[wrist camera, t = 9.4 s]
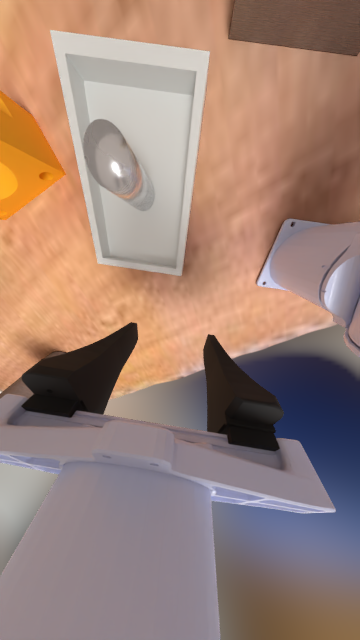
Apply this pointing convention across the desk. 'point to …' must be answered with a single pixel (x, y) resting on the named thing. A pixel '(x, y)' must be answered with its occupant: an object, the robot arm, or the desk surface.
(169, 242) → the tray
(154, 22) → the desk surface
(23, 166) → the pipe clamp
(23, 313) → the desk surface
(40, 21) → the desk surface
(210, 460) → the robot arm
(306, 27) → the socket block
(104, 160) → the pin
